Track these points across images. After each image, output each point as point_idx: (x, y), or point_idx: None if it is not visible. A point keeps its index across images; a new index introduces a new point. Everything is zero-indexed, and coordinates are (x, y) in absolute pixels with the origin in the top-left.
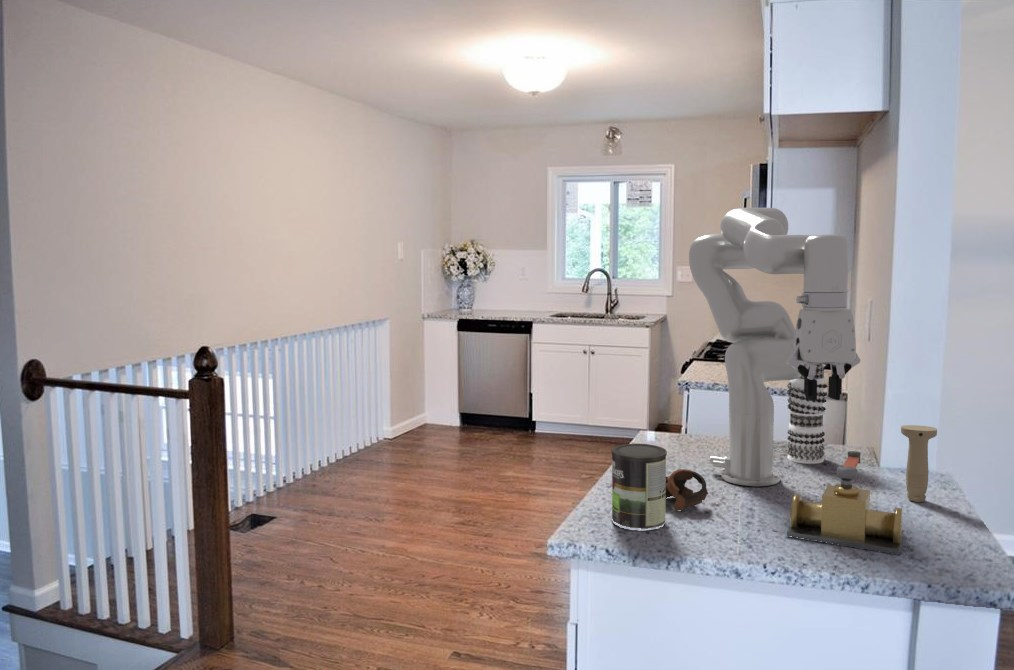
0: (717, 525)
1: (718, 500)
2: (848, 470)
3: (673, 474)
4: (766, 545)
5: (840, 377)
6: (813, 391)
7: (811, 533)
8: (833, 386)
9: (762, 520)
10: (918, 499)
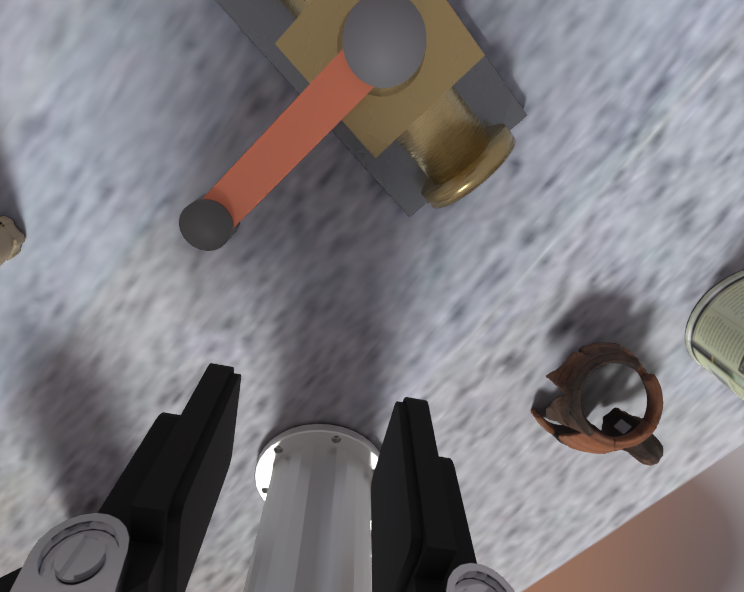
0: (611, 246)
1: (484, 382)
2: (400, 8)
3: (647, 432)
4: (615, 78)
5: (108, 537)
6: (436, 452)
7: (478, 75)
8: (205, 484)
9: (488, 239)
10: (2, 217)
